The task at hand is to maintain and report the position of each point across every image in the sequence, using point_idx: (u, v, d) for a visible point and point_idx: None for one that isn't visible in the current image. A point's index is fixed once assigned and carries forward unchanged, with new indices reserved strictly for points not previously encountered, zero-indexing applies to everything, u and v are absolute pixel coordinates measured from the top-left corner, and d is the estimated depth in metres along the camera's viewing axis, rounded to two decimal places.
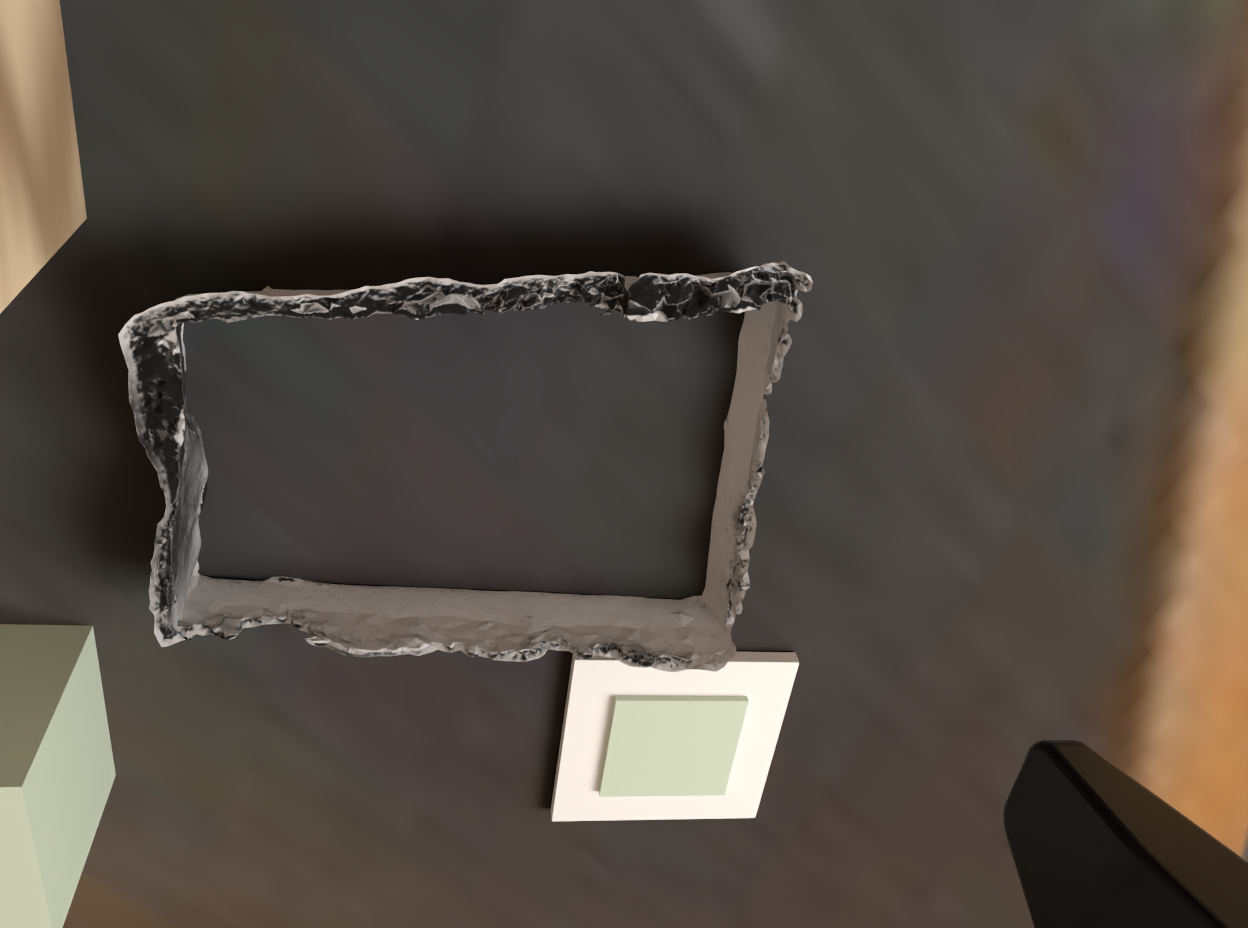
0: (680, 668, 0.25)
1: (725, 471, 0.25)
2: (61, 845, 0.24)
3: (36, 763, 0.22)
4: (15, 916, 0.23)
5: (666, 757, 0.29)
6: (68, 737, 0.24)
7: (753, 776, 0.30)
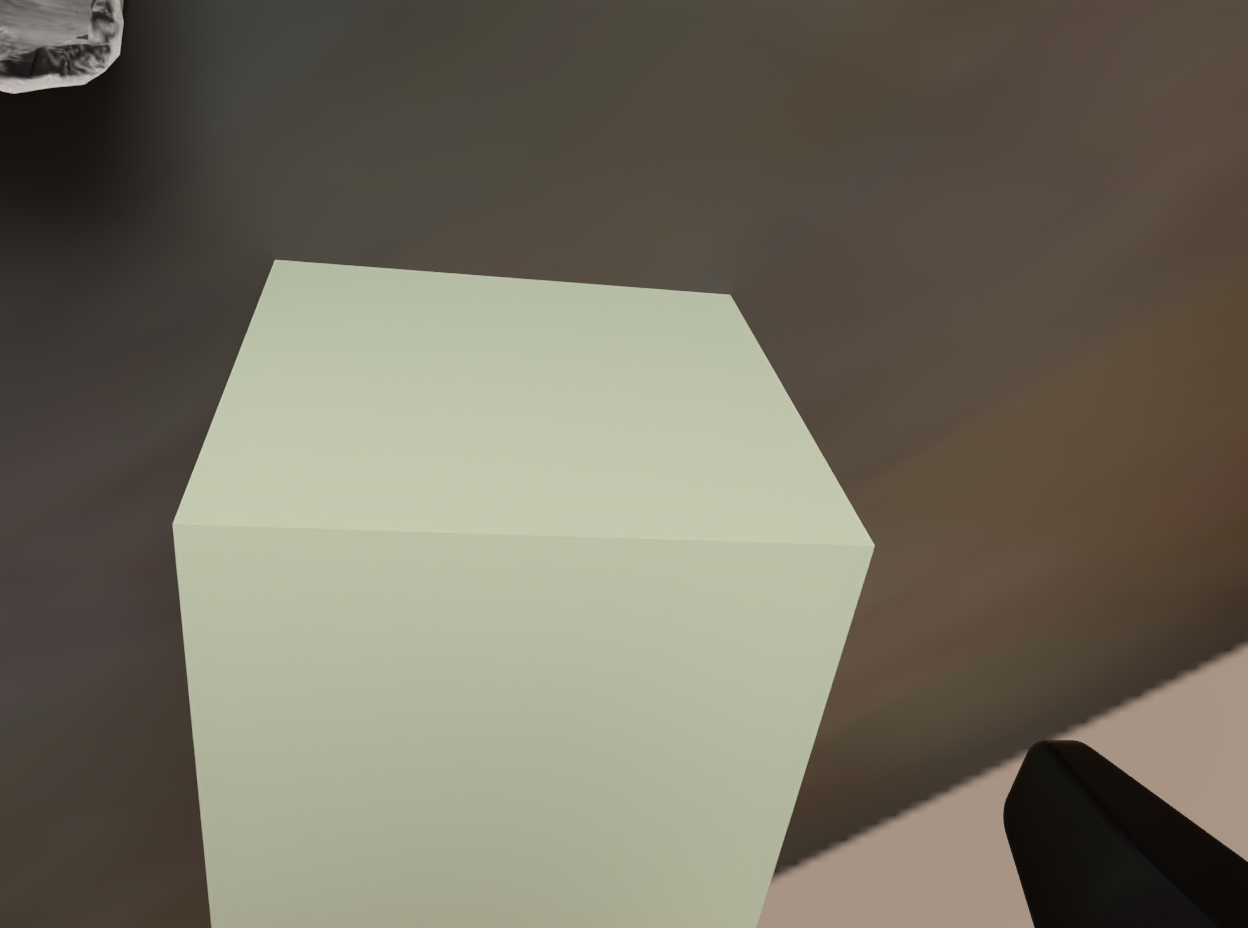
0: None
1: None
2: (612, 455, 0.09)
3: (219, 465, 0.08)
4: (725, 613, 0.08)
5: None
6: (376, 370, 0.09)
7: None
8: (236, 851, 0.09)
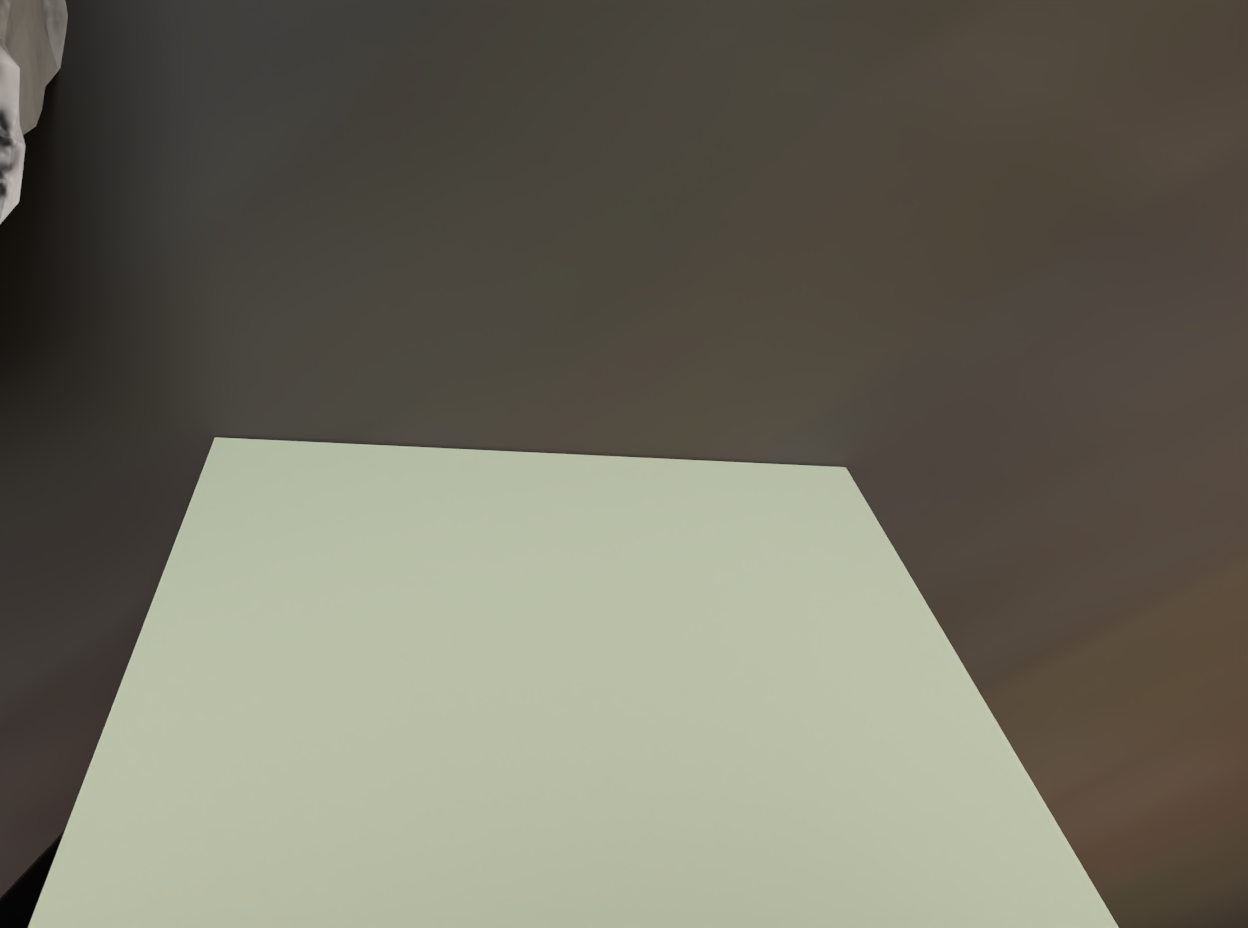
0: None
1: None
2: (732, 851, 0.05)
3: None
4: None
5: None
6: (349, 669, 0.06)
7: None
8: None
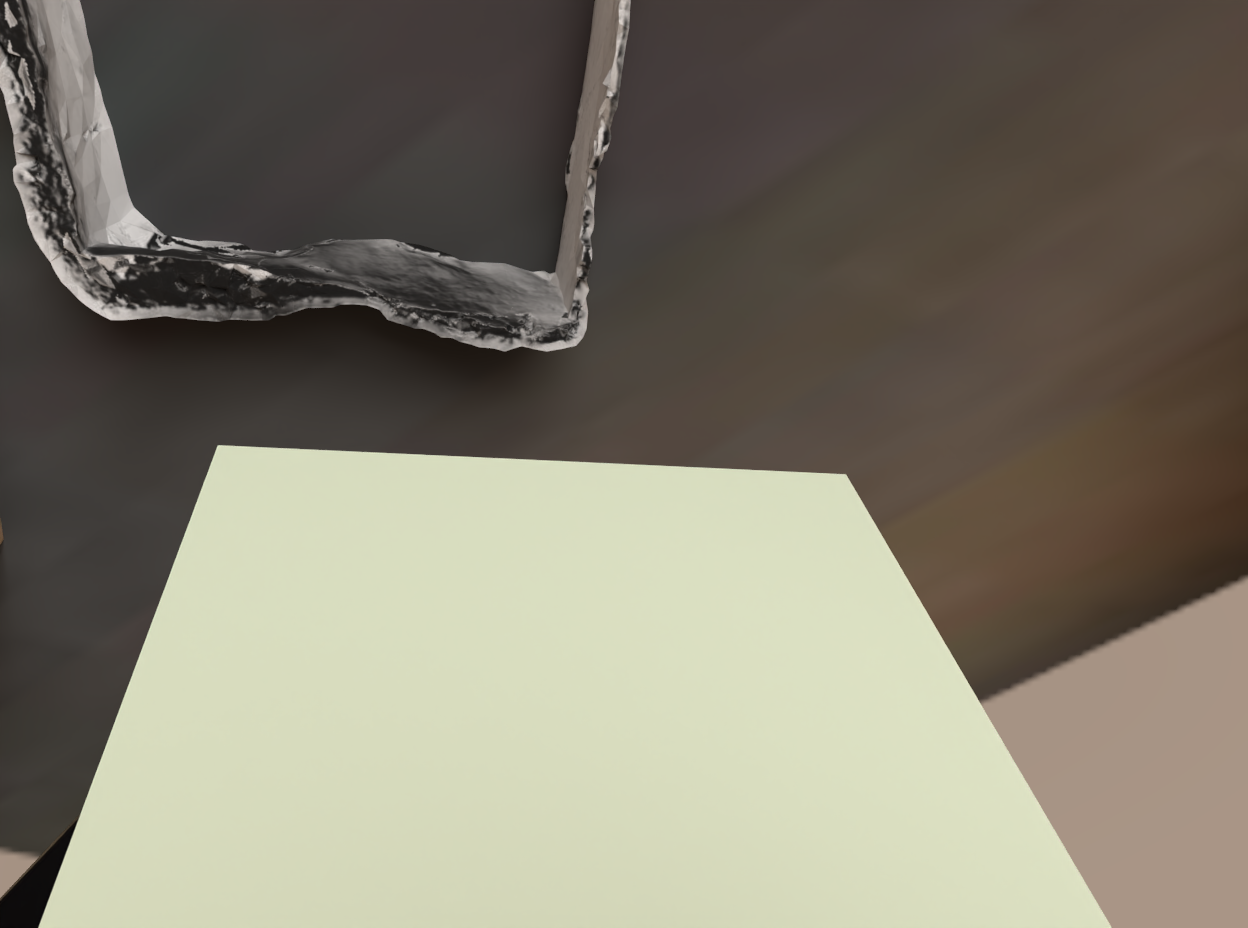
0: None
1: None
2: (731, 858, 0.05)
3: None
4: None
5: None
6: (352, 679, 0.06)
7: None
8: None
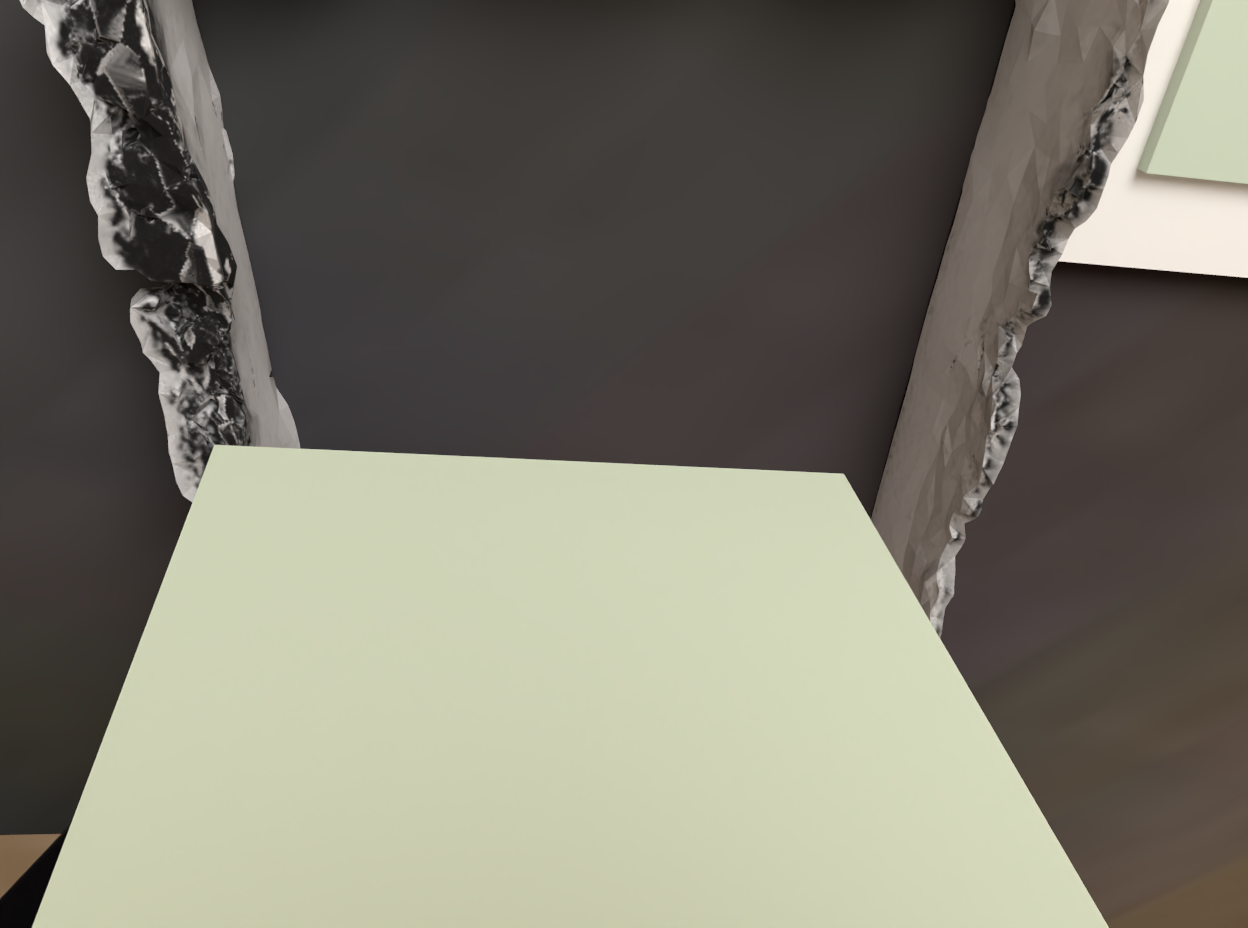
0: (1137, 90, 0.10)
1: None
2: (727, 858, 0.05)
3: None
4: None
5: None
6: (348, 678, 0.06)
7: None
8: None
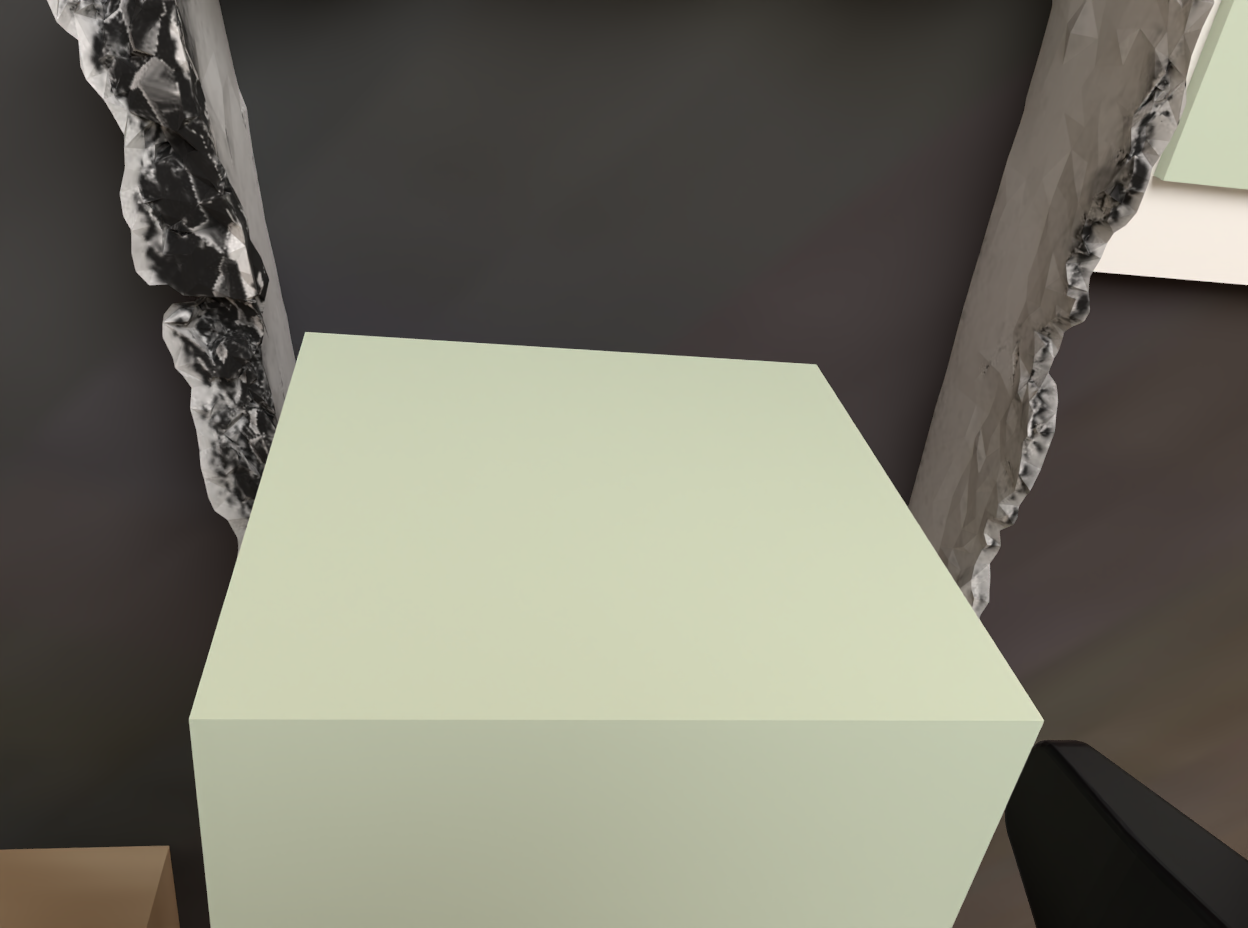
0: (1179, 91, 0.10)
1: None
2: (715, 594, 0.07)
3: (247, 626, 0.06)
4: (858, 798, 0.07)
5: None
6: (426, 482, 0.08)
7: None
8: None
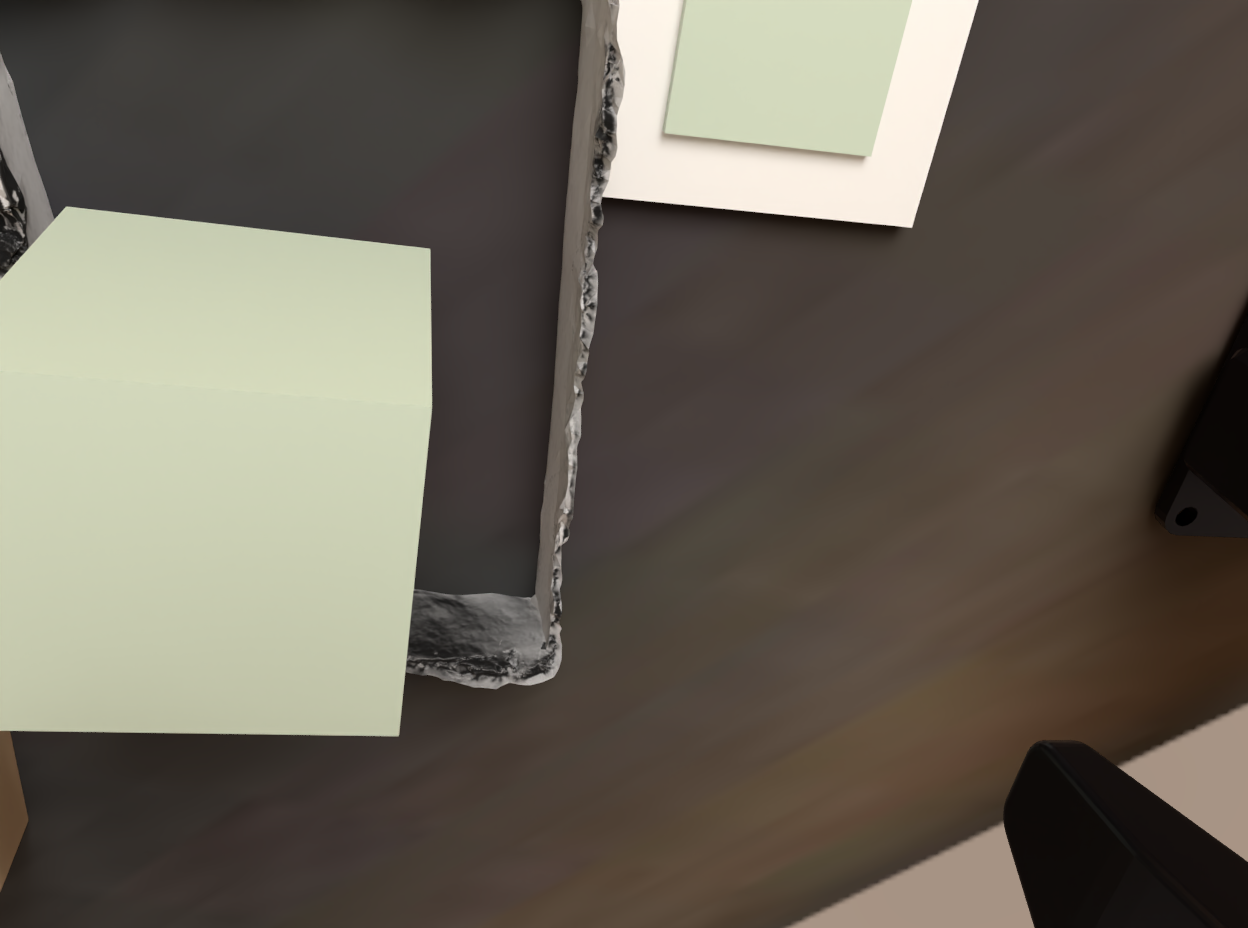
0: (621, 65, 0.15)
1: None
2: (268, 345, 0.12)
3: None
4: (330, 452, 0.12)
5: (809, 41, 0.17)
6: (112, 284, 0.13)
7: None
8: None
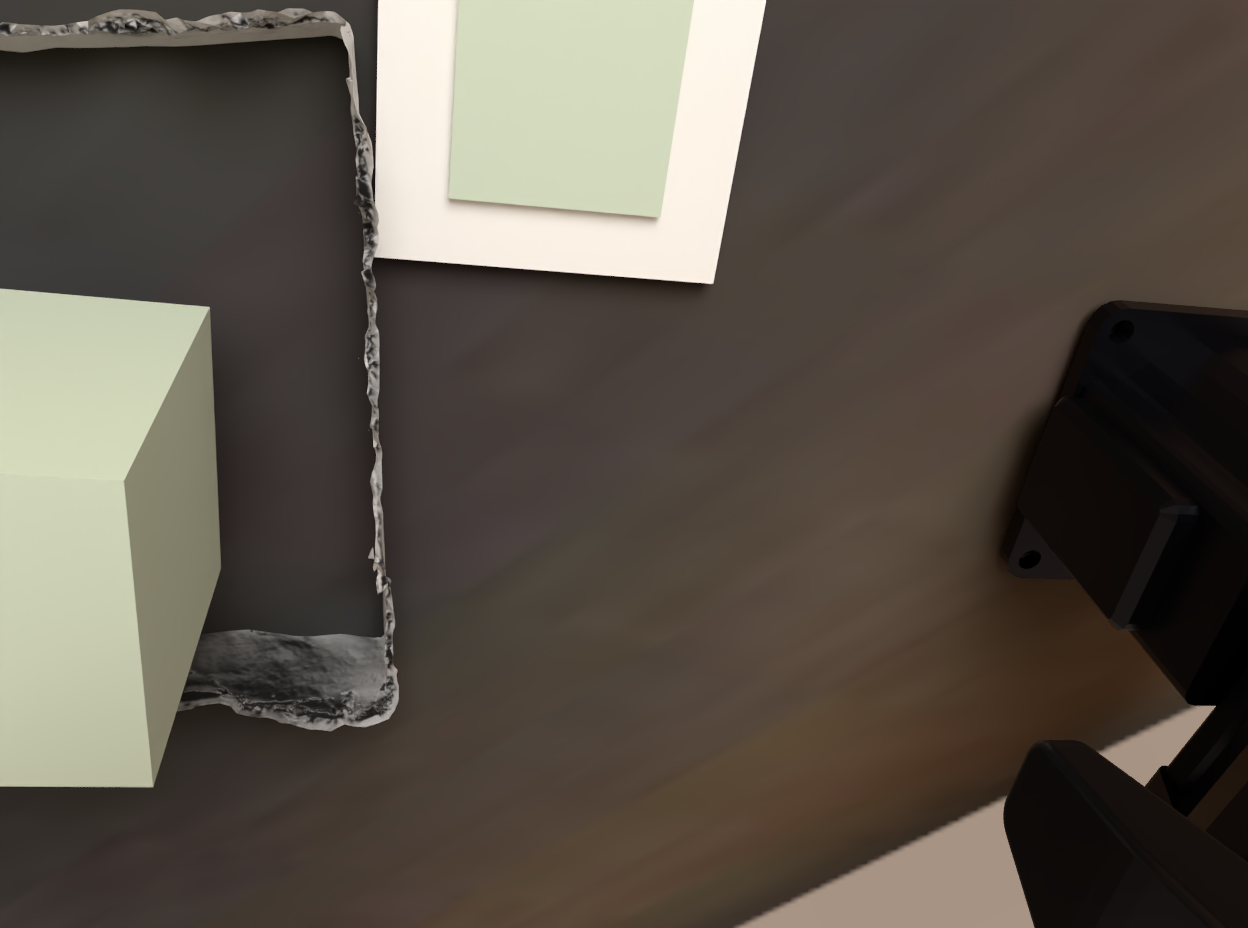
0: (367, 135, 0.16)
1: (87, 46, 0.16)
2: None
3: None
4: (31, 524, 0.12)
5: (584, 109, 0.17)
6: None
7: None
8: None
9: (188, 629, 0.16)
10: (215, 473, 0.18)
